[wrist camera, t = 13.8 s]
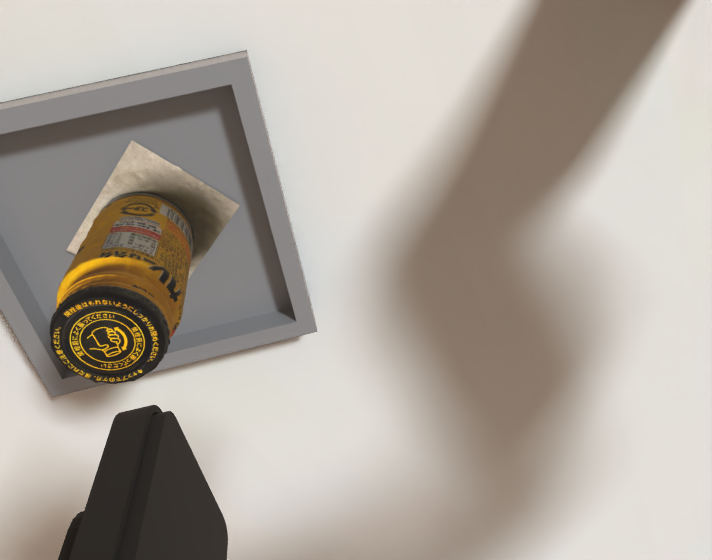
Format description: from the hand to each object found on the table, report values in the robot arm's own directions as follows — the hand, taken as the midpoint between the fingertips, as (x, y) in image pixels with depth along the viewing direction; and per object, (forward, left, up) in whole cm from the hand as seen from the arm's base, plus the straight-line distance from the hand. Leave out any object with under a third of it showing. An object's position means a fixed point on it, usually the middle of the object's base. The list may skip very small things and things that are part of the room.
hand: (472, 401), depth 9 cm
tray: (+7, -12, -29) cm, 32 cm away
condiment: (+7, -11, -29) cm, 32 cm away
